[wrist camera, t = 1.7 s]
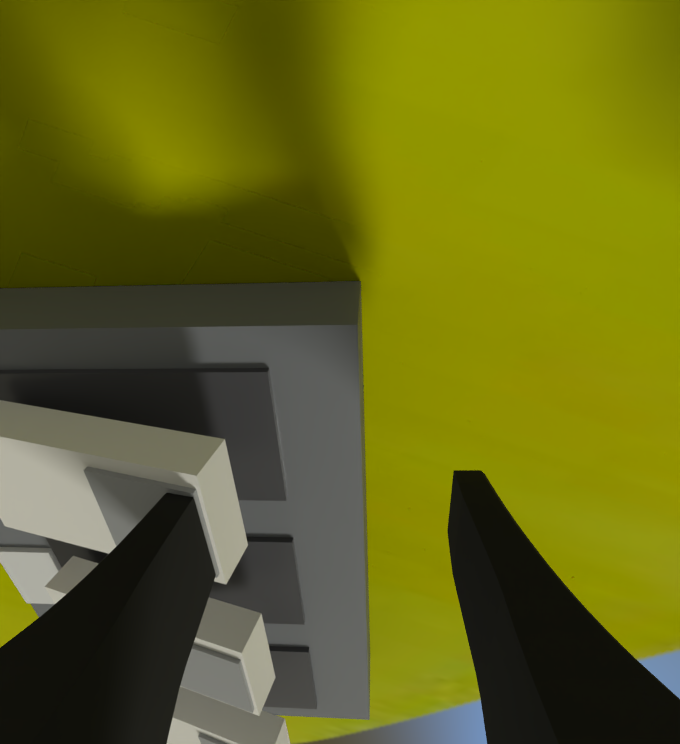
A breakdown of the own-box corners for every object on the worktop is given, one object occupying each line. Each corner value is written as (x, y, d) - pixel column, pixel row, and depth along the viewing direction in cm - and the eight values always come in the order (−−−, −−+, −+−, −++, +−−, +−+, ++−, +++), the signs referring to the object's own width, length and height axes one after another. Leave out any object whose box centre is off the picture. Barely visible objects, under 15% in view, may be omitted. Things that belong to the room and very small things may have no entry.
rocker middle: (261, 613, 14) (239, 657, 13) (275, 677, 16) (257, 720, 15) (73, 555, 16) (41, 590, 15) (105, 618, 18) (78, 653, 17)
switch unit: (360, 281, 14) (356, 328, 12) (369, 656, 25) (369, 724, 22) (-61, 289, 15) (-149, 335, 13) (121, 647, 26) (93, 710, 23)
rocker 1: (224, 438, 11) (193, 480, 10) (248, 544, 13) (223, 589, 12) (-13, 397, 13) (-61, 428, 12) (38, 495, 15) (0, 530, 14)
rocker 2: (284, 718, 18) (269, 760, 17) (294, 761, 20) (280, 801, 19) (126, 660, 20) (103, 694, 19) (148, 704, 22) (129, 737, 21)
